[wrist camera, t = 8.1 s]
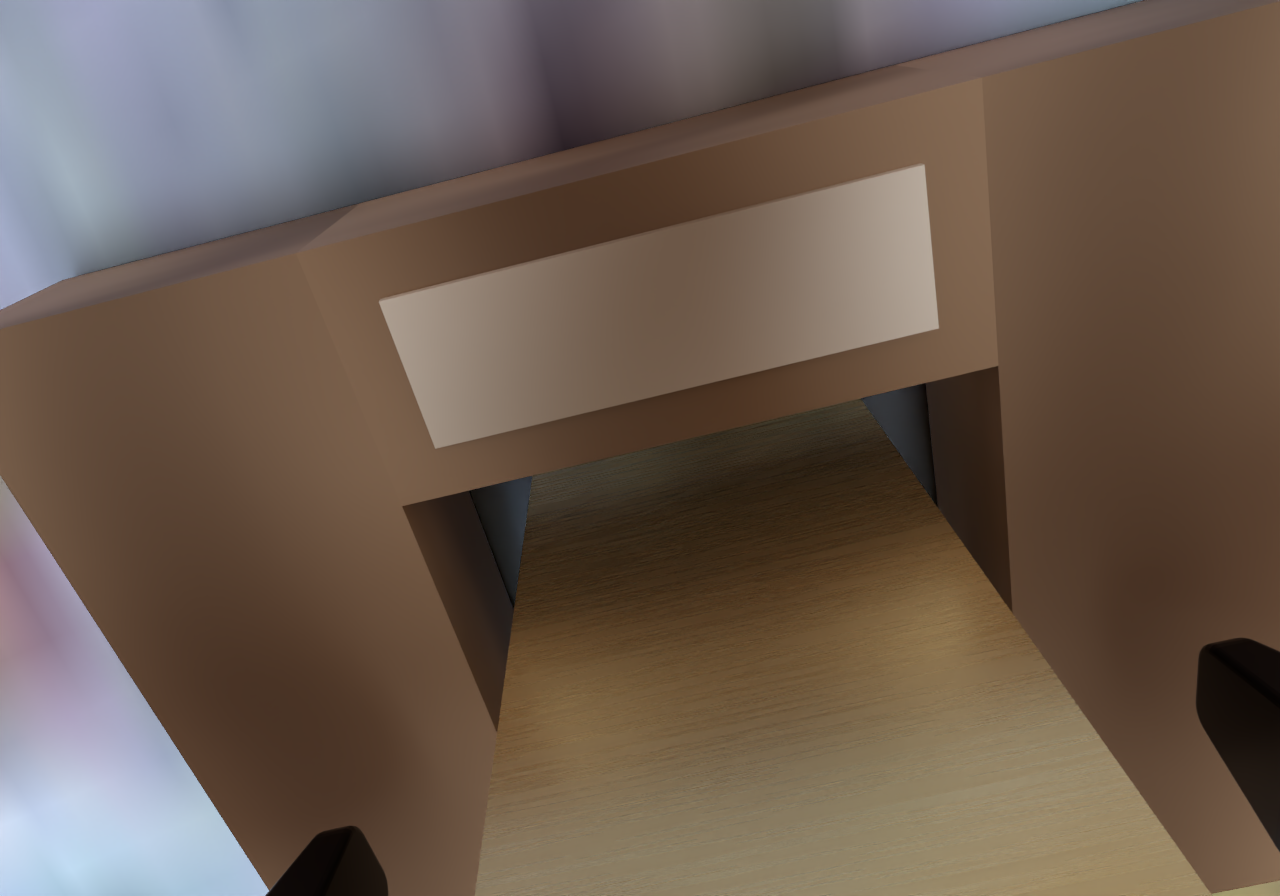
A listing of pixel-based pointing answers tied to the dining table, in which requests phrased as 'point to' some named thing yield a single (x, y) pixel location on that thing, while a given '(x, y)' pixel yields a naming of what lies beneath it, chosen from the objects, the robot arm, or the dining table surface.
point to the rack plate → (689, 407)
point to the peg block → (788, 692)
